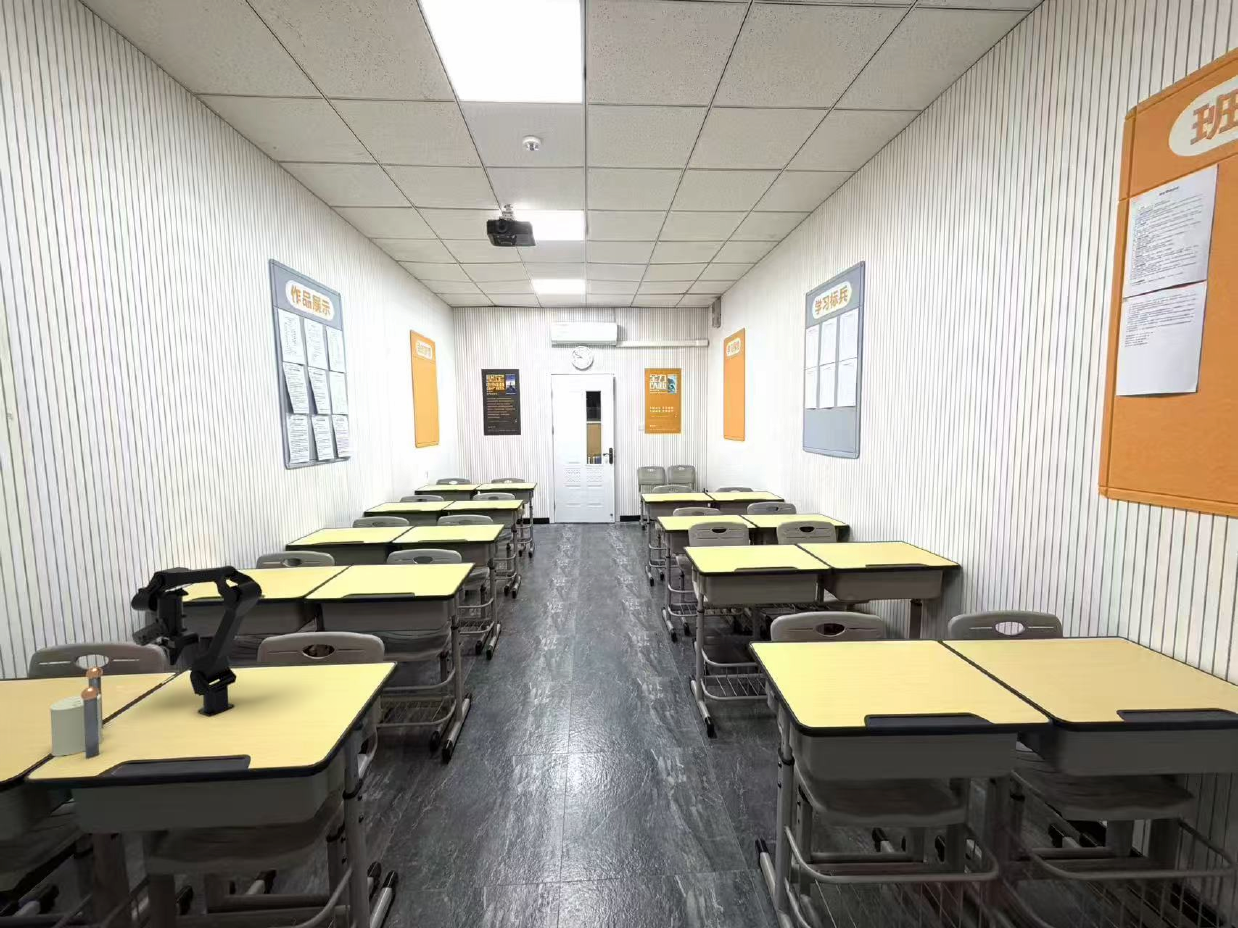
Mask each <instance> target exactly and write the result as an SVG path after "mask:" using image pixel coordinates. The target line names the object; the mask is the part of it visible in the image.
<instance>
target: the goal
mask: <svg viewBox="0 0 1238 928" xmlns="http://www.w3.org/2000/svg"><path fill="white" fill-rule="evenodd" d="M103 672H104V671H103V668H101V667H100V666H92V667H90V668H89V669H88V670H87V671H86V674H85V677H86V678H87V679H88V680H87V681H88V687H85V688H84V689H83V690H82V691H81V693H80V695H81V698H82V699H83V704H84V730H85V751H84V752H85V753H84V754H85V759H92V758H95V757H97V756H98V755H100V744H99V733H98V707H97V696H98V695H99V694H100V695H101V724H102V729H103V728H104V726H103V725H104V723H103V700H102V699H103V698H102V697H103V694H102V675H103Z"/></svg>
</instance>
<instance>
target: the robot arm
mask: <svg viewBox="0 0 1238 928" xmlns="http://www.w3.org/2000/svg"><path fill="white" fill-rule="evenodd" d="M227 581H230V582H232V583H234V584H235V585H232V586H230V585H229V584H228V583H227ZM205 583H214V584H215V585H216V589H217V593H218V595H220V597H222V598H223V601H222V604H223V607H224V614H223V615H222V618H221V620H220V622H219V624H218V627H217V629H216V631H215V634H214V636H213V639H212V640H211V643H210V645H209V648H208V650H207V652H206V653H204V654H201V655H199V656H197V657H195V659H194V660H193V663H192V665H191V668H189V671H190V674H189V681H190V683H191V686H192V688H193V692H194V694H195V695H198V697H201V696H202V700H203V701H202V703H203V707H202V708H200V709H198V710H197V713H199V714H202V715H205V716H208V717H212V716H215V715H218V714H219V713H222V712H224V711H227V710H229V709H232V708H235V705H234V704H232V703H229V686H230V685H231V684H234V683H236V681H237V677H238V676H237V675H236V674H235V672H234V671H233V670H232V669H231V667H230V662H231V661H230V660H229V656H228V655H229V652H230V650H231V648H232V646H233V643H234V641H235V638H236V636H237V634H238V632H239V630H240V627H241V626H242V623H243V620H244V619H245V616H246V614H247V613H248V612H249V611H250V610H251V609H252V608H253V607H255V605H256V604H257V603H258V601H259V599H260V598H261V596H262V594H263V589H262V587H261V585H260V584H259V583H258V582H257V581H256V580H255V579H253V577H251V576H250V575H248V574H246V573H243V572H241V571H239V570H238V569H236V567H235V566H232V565H224V566H218V567H207V568H199V569H191V568H188V567H184V566H182V567H181V566H176V567H172V568H171V567H170V568H166V569H162V570H158V571H157V570H156V571H155V572H154V573H153V575H152V577H151V579H150V580H149V582H148V584H147V586H144V587H139V588H137V592H136V593H135V594H134V596H133V597H132V599H131V601H130V606H131V608H132V610H135V611H136V612H137V611H138V612H152V613H154V612H157V616H154V618H152V621H153V622H152V623H151V624H148V625H146V626H145V627H142V628H141V629H139V630H137V631H135V632H133V633H131V637H132V639H133V641H134V643H135V644H136V646H138V645H139V646H141V647H145V646H147V645H149V644H150V643H151V642H153V641H155V642H153V643H152V644H153V645H154V646H157V647H159V648H160V649H161V650H162V652H163V654H164V656H165V657H164V658H165V659H166V661H167V664H168V666H170V667H173V666H175V665H176V663H177V661H178V660H179V658H180V656H181V654H182V652H183V650H184V648H185V647H186V646H190V645H193V644H197V643H200V642H201V634H199V633H197V632H195V631H191V630H189V631H188V630H187V629H188V627H185V625H184V618H187V613H185V612H184V603H183V601H184V600H183V599H184V597H186V596H189V594H190V593H189V592H188V591H186V590H185V589H184V588H183V587H182V586H186V585H192V584H205ZM178 587H179V588H178ZM213 682H214V683H213Z"/></svg>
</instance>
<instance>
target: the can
mask: <svg viewBox="0 0 1238 928" xmlns="http://www.w3.org/2000/svg"><path fill="white" fill-rule="evenodd" d="M97 707H98V733H99V745H100V744H101V743H102V742H103V740H104V738H103V728H102V724H101V695H100V694H99V695H98V696H97ZM49 710H50V723H51V724H50V726H51V728H50V729H51V753H50V755H51V756H53V757H62V756H61V755H68V756H70V755H69V754H73V753H77V754H80V753H83V752H85V730H84V704H83V699H82V698H81V694H77V695H73V696H71V697H66V698H63V699H61V700H59V701H56V702H54V703H52V705H50V707H49ZM82 751H83V752H82ZM73 755H74V754H73Z"/></svg>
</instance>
